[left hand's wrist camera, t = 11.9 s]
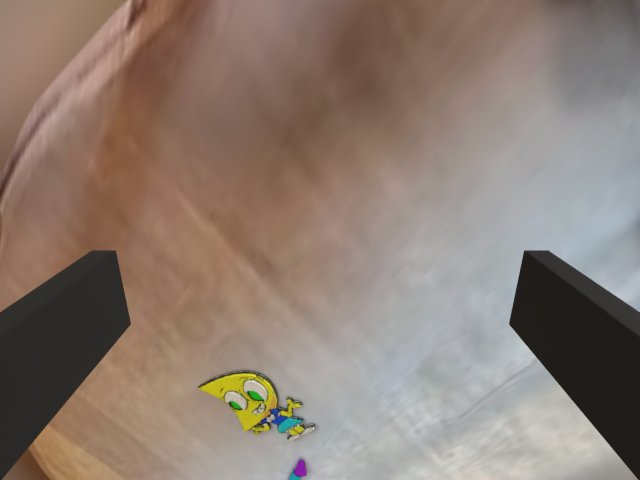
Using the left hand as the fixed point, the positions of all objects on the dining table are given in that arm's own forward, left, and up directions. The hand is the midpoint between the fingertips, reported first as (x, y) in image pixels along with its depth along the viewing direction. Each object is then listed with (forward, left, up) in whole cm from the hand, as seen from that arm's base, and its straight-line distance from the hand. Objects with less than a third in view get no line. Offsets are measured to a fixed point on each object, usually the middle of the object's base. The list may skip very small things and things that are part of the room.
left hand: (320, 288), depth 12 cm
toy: (+36, +5, -31) cm, 47 cm away
